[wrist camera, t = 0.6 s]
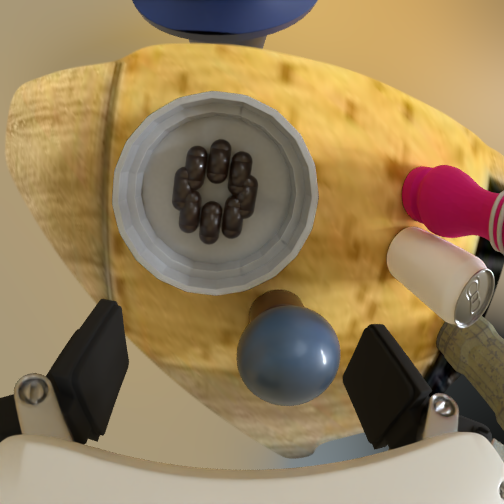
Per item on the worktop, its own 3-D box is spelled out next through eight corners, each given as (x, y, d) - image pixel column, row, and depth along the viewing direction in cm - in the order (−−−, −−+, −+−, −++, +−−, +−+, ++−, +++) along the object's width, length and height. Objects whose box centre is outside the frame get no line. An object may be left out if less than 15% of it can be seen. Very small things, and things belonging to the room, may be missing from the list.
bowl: (143, 98, 21) (126, 87, 16) (316, 121, 23) (333, 114, 18) (128, 261, 26) (111, 280, 22) (285, 282, 28) (294, 304, 23)
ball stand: (241, 271, 27) (248, 344, 16) (326, 281, 28) (373, 347, 17) (230, 343, 30) (231, 424, 19) (305, 348, 31) (332, 422, 20)
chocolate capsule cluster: (182, 135, 22) (178, 133, 20) (263, 146, 23) (266, 145, 21) (170, 236, 25) (166, 242, 23) (247, 246, 25) (248, 252, 24)
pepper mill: (447, 173, 25) (589, 214, 6) (434, 230, 27) (565, 305, 8) (404, 153, 24) (575, 182, 5) (390, 217, 26) (546, 305, 7)
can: (416, 214, 26) (494, 248, 15) (432, 256, 28) (498, 299, 17) (376, 248, 27) (445, 300, 16) (396, 288, 29) (455, 345, 18)
